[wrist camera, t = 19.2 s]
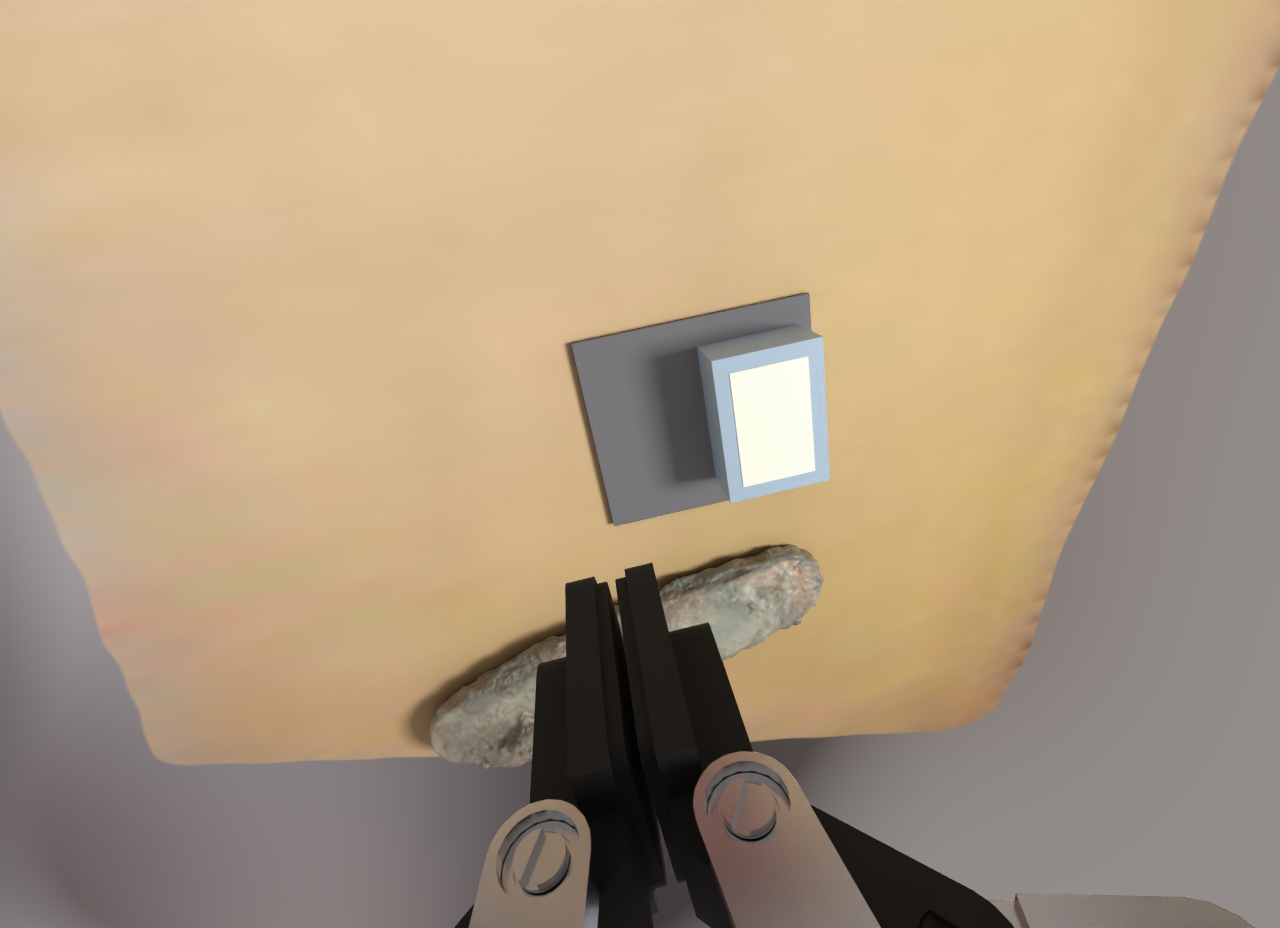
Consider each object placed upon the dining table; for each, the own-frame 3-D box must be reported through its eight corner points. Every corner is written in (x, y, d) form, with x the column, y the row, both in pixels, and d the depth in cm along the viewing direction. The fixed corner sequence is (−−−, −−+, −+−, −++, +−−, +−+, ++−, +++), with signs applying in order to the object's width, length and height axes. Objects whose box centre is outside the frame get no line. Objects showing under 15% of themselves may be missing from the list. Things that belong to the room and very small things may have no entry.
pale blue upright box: (711, 361, 35) (822, 336, 35) (696, 346, 38) (797, 324, 39) (730, 503, 39) (830, 480, 39) (715, 477, 43) (806, 456, 43)
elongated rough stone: (821, 592, 51) (784, 503, 47) (850, 628, 46) (812, 531, 43) (472, 768, 52) (408, 693, 48) (464, 822, 47) (392, 744, 43)
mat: (571, 342, 38) (571, 344, 37) (806, 292, 38) (809, 293, 38) (613, 523, 44) (614, 526, 43) (816, 477, 44) (819, 479, 44)
